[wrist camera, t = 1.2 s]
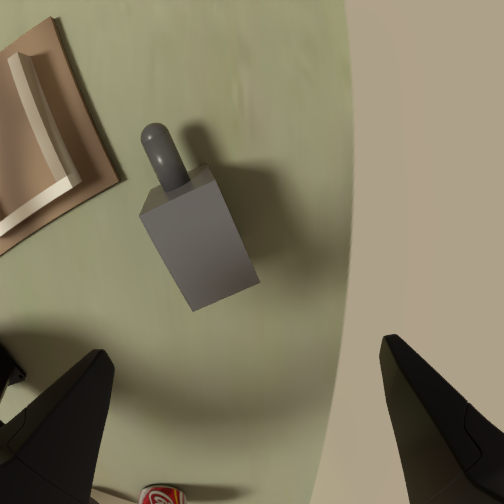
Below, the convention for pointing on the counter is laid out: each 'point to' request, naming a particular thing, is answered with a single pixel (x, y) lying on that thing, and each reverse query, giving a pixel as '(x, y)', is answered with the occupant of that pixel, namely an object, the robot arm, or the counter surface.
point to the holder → (44, 137)
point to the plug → (192, 226)
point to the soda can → (161, 495)
